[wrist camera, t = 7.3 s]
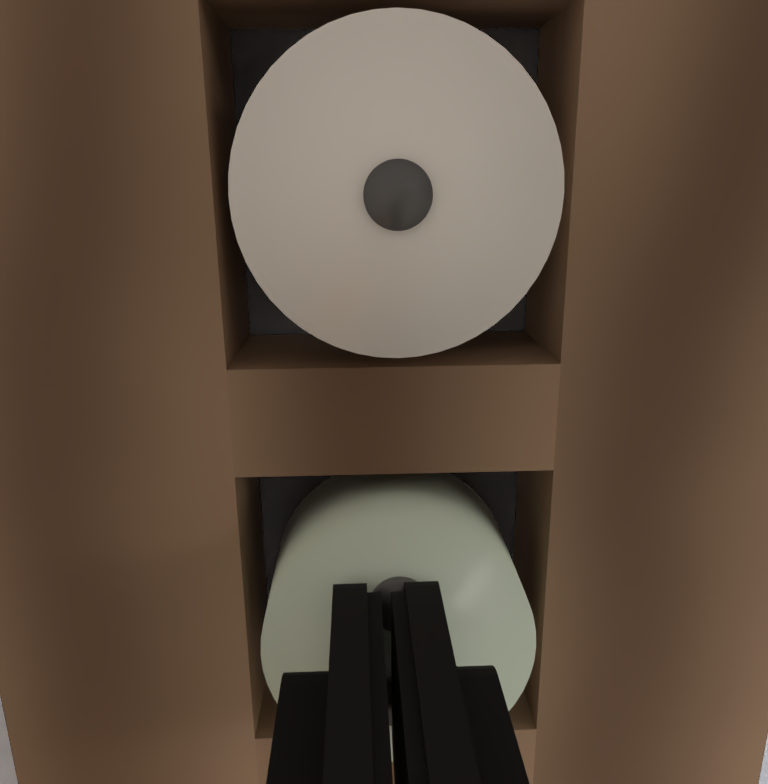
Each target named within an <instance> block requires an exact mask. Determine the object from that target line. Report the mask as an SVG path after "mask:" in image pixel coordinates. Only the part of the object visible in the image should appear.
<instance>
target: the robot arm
mask: <svg viewBox="0 0 768 784" xmlns="http://www.w3.org/2000/svg"><path fill="white" fill-rule="evenodd" d="M391 674H392V748H393V765H394V780H395V784H530V783H529V780H528V777H527V773H526V770H525V766H524V763H523V759H522V756H521V752H520V749H519V746H518V742H517V739H516V735H515V732H514V728H513V725H512V722H511V718H510V715H509V711H508V708H507V704H506V701H505V697H504V694H503V691H502V687H501V684H500V680H499V677H498V674H497V671H496V668H495V667H494V666H493V665H485V666H456V662H455V657H454V652H453V648H452V643H451V638H450V633H449V629H448V624H447V619H446V614H445V610H444V605H443V600H442V595H441V591H440V586H439V582H438V581H421V582H404V591H399V592H391ZM266 784H393V777H392V760H391V744H390V729H389V713H388V698H387V682H386V667H385V652H384V636H383V621H382V605H381V592H367V583H355V584H333V594H332V613H331V633H330V652H329V671H313V672H284V673H283V675H282V678H281V684H280V691H279V698H278V704H277V711H276V718H275V725H274V732H273V739H272V746H271V753H270V760H269V766H268V773H267V780H266Z"/></svg>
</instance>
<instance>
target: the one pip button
mask: <svg viewBox="0 0 768 784" xmlns="http://www.w3.org/2000/svg"><path fill="white" fill-rule="evenodd" d="M228 198H229V205H230V213H231V220H232V224H233V227H234V231H235V235H236V239H237V242H238V244H239V247H240V249H241V252H242V254H243V257H244V259H245V262H246V264H247V265H248V267H249V269H250V271H251V273H252V274H253V276H254V278H255V280H256V281H257V283H258V284H259V285H260V287H261V288H262V290H263V291H264V292H265V294H266V295H267V296H268V298H269V299H270V300H271V301H272V302H273V303H274V304H275V305H276V306H277V307H278V308H279V309H280V311H281V312H282V313H283V314H284V315H286V316H287V317H288V318H289V319H291V320H292V321H293V322H294V323H295V324H297V325H298V326H299V327H300V328H302V329H303V330H305V331H307V332H308V333H310V334H312V335H313V336H315V337H316V338H318V339H320V340H322V341H324V342H327V343H329V344H331V345H333V346H335V347H337V348H341V349H344V350H347V351H350V352H354V353H357V354H362V355H368V356H374V357H384V358H406V357H418V356H423V355H428V354H433V353H438V352H441V351H444V350H447V349H450V348H452V347H455V346H458V345H460V344H462V343H464V342H466V341H468V340H470V339H472V338H474V337H476V336H478V335H480V334H481V333H483V332H484V331H486V330H487V329H489V328H490V327H492V326H493V325H495V324H496V323H497V322H498V321H499V320H500V319H502V318H503V317H504V316H505V315H506V314H507V313H509V312H510V311H511V310H512V309H513V308H514V307H515V305H516V304H517V303H518V302H519V301H520V300H521V299H522V298H523V297H524V296H525V294H526V293H527V292H528V290H529V289H530V287H531V286H532V284H533V283H534V282H535V280H536V279H537V277H538V276H539V274H540V272H541V270H542V268H543V266H544V264H545V263H546V261H547V259H548V257H549V254H550V251H551V249H552V246H553V244H554V241H555V239H556V235H557V231H558V227H559V223H560V220H561V215H562V207H563V199H564V164H563V156H562V148H561V144H560V140H559V136H558V132H557V129H556V125H555V122H554V120H553V117H552V115H551V112H550V110H549V107H548V105H547V103H546V101H545V99H544V98H543V96H542V94H541V92H540V90H539V89H538V87H537V85H536V83H535V82H534V81H533V79H532V78H531V77H530V75H529V74H528V73H527V71H526V70H525V69H524V67H523V66H522V65H521V64H520V63H519V62H518V61H517V60H516V59H515V58H514V57H513V56H512V55H511V54H510V53H509V52H508V51H507V50H506V49H505V48H504V47H503V46H501V45H500V44H499V43H497V42H496V41H495V40H493V39H492V38H491V37H489V36H488V35H487V34H485V33H484V32H482V31H480V30H478V29H476V28H474V27H473V26H471V25H469V24H467V23H465V22H463V21H460V20H458V19H455V18H452V17H450V16H447V15H444V14H440V13H436V12H431V11H427V10H422V9H412V8H398V7H396V8H383V9H372V10H368V11H363V12H359V13H354V14H350V15H347V16H345V17H342V18H340V19H337V20H334V21H332V22H329V23H327V24H325V25H323V26H322V27H320V28H318V29H316V30H314V31H313V32H311V33H309V34H307V35H306V36H305V37H303V38H302V39H301V40H299V41H298V42H297V43H295V44H294V45H293V46H291V47H290V48H289V49H288V50H287V51H286V52H285V53H284V54H283V55H282V56H281V57H280V58H279V59H278V60H277V61H276V62H275V63H274V64H273V65H272V66H271V67H270V68H269V70H268V71H267V72H266V74H265V75H264V76H263V78H262V79H261V80H260V82H259V83H258V84H257V86H256V88H255V90H254V91H253V93H252V95H251V97H250V99H249V100H248V102H247V104H246V106H245V108H244V111H243V113H242V116H241V118H240V121H239V123H238V126H237V129H236V133H235V137H234V140H233V144H232V148H231V154H230V163H229V171H228Z"/></svg>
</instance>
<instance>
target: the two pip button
mask: <svg viewBox="0 0 768 784" xmlns="http://www.w3.org/2000/svg"><path fill="white" fill-rule="evenodd" d="M421 581H438V582H439V586H440V591H441V595H442V600H443V605H444V610H445V614H446V619H447V624H448V629H449V633H450V638H451V643H452V648H453V652H454V657H455V662H456V666H485V665H493V666H494V667H495V668H496V671H497V674H498V677H499V680H500V684H501V687H502V691H503V694H504V697H505V701H506V704H507V708H508V711H510V709H511V708H512V707H513V706H514V705H515V703H516V702H517V700H518V698H519V697H520V695H521V694H522V692H523V691H524V688H525V686H526V684H527V682H528V680H529V677H530V674H531V671H532V668H533V664H534V660H535V652H536V628H535V622H534V616H533V613H532V610H531V607H530V604H529V601H528V599H527V596H526V594H525V591H524V589H523V586H522V584H521V581H520V579H519V576H518V574H517V571H516V569H515V566H514V564H513V561H512V559H511V556H510V554H509V551H508V549H507V546H506V544H505V541H504V539H503V536H502V534H501V531H500V529H499V526H498V524H497V522H496V520H495V518H494V516H493V514H492V512H491V510H490V509H489V508H488V506H487V505H486V503H485V502H484V500H483V499H482V498H481V497H480V496H479V495H478V494H477V493H476V492H475V491H474V490H473V489H472V488H471V487H469V486H468V485H467V484H466V483H464V482H463V481H462V480H460V479H458V478H457V477H455V476H453V475H452V474H450V473H412V474H367V475H333V476H332V477H330V478H329V479H327V480H325V481H324V482H322V483H321V484H319V485H318V486H317V487H316V488H315V489H314V490H312V491H311V492H310V493H309V494H308V495H307V496H306V497H305V498H304V499H303V500H302V502H301V503H300V504H299V505H298V506H297V508H296V509H295V511H294V512H293V514H292V515H291V517H290V519H289V521H288V523H287V525H286V527H285V530H284V533H283V536H282V539H281V542H280V547H279V552H278V557H277V561H276V566H275V571H274V575H273V580H272V585H271V589H270V594H269V599H268V604H267V608H266V613H265V618H264V622H263V628H262V634H261V662H262V668H263V673H264V676H265V679H266V682H267V685H268V687H269V689H270V691H271V694H272V696H273V698H274V699H275V701H276V702H277V704H278V698H279V691H280V684H281V678H282V675H283V673H284V672H313V671H329V652H330V633H331V613H332V594H333V584H355V583H367V592H381V605H382V621H383V636H384V652H385V667H386V682H387V698H388V713H389V729H390V744H391V760H392V762H393V748H392V674H391V592H399V591H404V582H421Z"/></svg>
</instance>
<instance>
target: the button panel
mask: <svg viewBox="0 0 768 784" xmlns="http://www.w3.org/2000/svg"><path fill="white" fill-rule="evenodd" d="M396 7H398V8H412V9H422V10H427V11H431V12H436V13H440V14H444V15H447V16H450V17H452V18H455V19H458V20H460V21H463V22H465V23H467V24H469V25H471V26H473V27H474V28H540V35H539V55H538V75H537V87H538V89H539V90H540V92H541V94H542V96H543V98H544V99H545V101H546V103H547V105H548V107H549V110H550V112H551V115H552V117H553V120H554V122H555V125H556V129H557V132H558V136H559V140H560V144H561V148H562V156H563V164H564V199H563V207H562V215H561V220H560V223H559V227H558V231H557V235H556V239H555V241H554V244H553V246H552V249H551V251H550V254H549V257H548V259H547V261H546V263H545V264H544V266H543V268H542V270H541V272H540V274H539V276H538V277H537V279H536V280H535V282H534V283H533V284H532V286H531V287H530V289H529V290H528V292H527V295H526V315H525V331H484V332H483V333H481V334H480V335H478V336H476V337H474V338H472V339H470V340H468V341H466V342H464V343H462V344H460V345H458V346H455V347H452V348H450V349H447V350H444V351H441V352H438V353H433V354H428V355H423V356H418V357H406V358H384V357H374V356H368V355H362V354H357V353H354V352H350V351H347V350H344V349H341V348H337V347H335V346H333V345H331V344H329V343H327V342H324V341H322V340H320V339H318V338H316V337H315V336H313V335H312V334H291V335H250V327H249V312H248V296H247V281H246V266H245V259H244V257H243V254H242V252H241V249H240V247H239V244H238V242H237V239H236V235H235V231H234V227H233V224H232V220H231V213H230V205H229V198H228V171H229V163H230V154H231V148H232V144H233V140H234V137H235V133H236V114H235V99H234V84H233V69H232V54H231V39H230V29H318V28H320V27H322V26H323V25H325V24H327V23H329V22H332V21H334V20H337V19H340V18H342V17H345V16H347V15H350V14H354V13H359V12H363V11H368V10H372V9H383V8H396ZM501 471H518V475H517V495H516V515H515V535H514V555H513V564H514V566H515V569H516V571H517V574H518V576H519V579H520V581H521V584H522V586H523V589H524V591H525V594H526V596H527V599H528V601H529V604H530V607H531V610H532V613H533V616H534V622H535V628H536V652H535V660H534V664H533V668H532V671H531V674H530V677H529V680H528V682H527V684H526V686H525V688H524V691H523V692H522V694H521V695H520V697H519V698H518V700H517V702H516V703H515V705H514V706H513V707H512V708H511V709H510V711H509V715H510V718H511V722H512V725H513V728H514V732H515V735H516V739H517V742H518V746H519V749H520V752H521V756H522V759H523V763H524V766H525V770H526V773H527V777H528V780H529V783H530V784H758V783H759V777H760V772H761V766H762V761H763V756H764V750H765V745H766V739H767V734H768V0H0V696H1V701H2V706H3V711H4V716H5V720H6V725H7V730H8V735H9V740H10V745H11V750H12V755H13V760H14V765H15V770H16V775H17V780H18V784H266V780H267V773H268V766H269V760H270V753H271V746H272V739H273V732H274V725H275V718H276V711H277V702H276V701H275V699H274V698H273V696H272V694H271V691H270V689H269V687H268V685H267V682H266V679H265V676H264V673H263V668H262V662H261V634H262V628H263V622H264V618H265V613H266V608H267V604H268V600H267V584H266V569H265V554H264V539H263V524H262V509H261V493H260V478H259V477H278V476H323V475H367V474H412V473H456V472H501ZM392 777H393V784H395V780H394V765H393V762H392Z"/></svg>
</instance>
